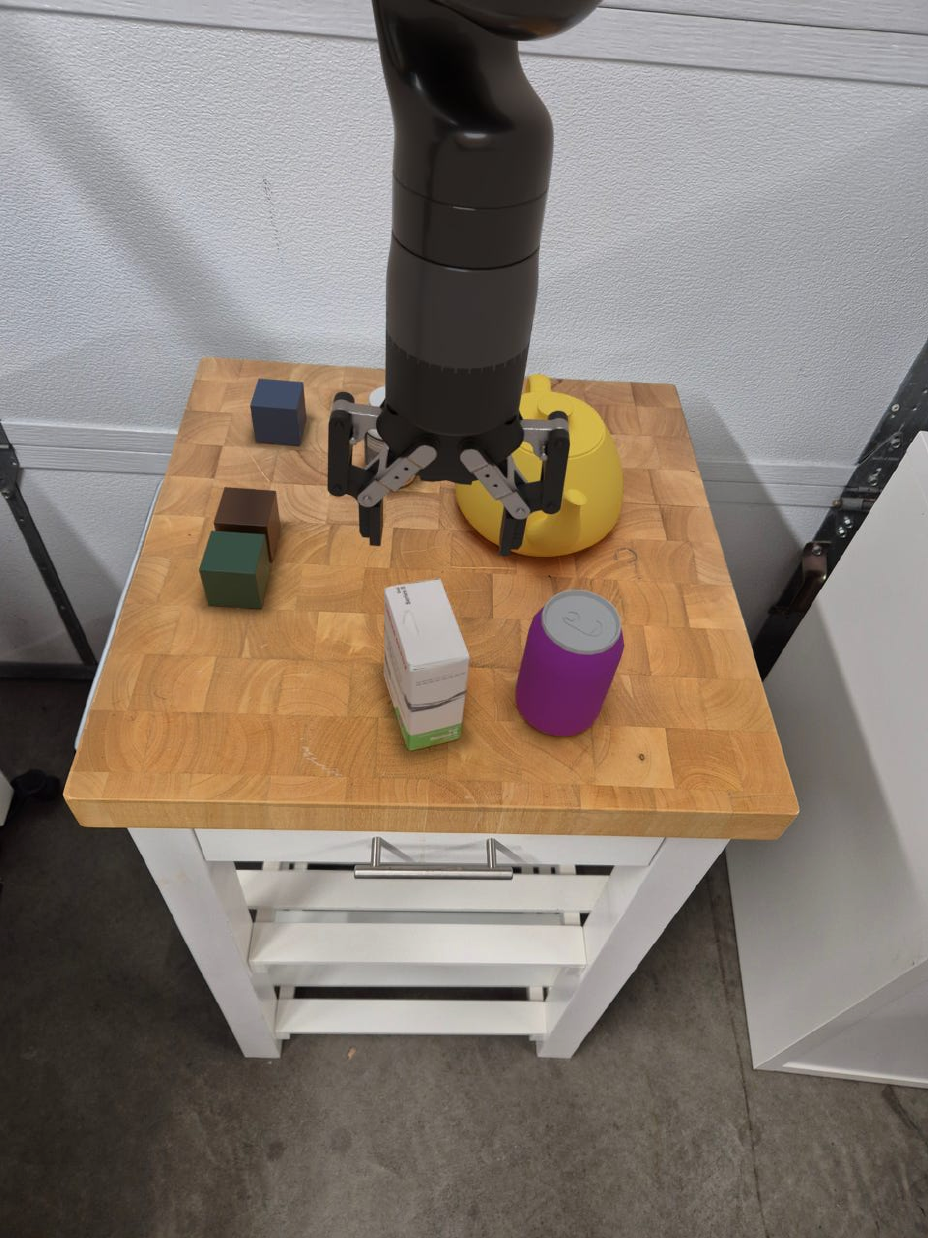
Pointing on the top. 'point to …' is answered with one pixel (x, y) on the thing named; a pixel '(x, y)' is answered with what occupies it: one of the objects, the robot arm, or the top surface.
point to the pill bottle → (372, 438)
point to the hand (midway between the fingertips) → (440, 542)
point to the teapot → (586, 487)
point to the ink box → (424, 663)
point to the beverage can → (569, 662)
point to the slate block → (278, 411)
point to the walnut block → (250, 514)
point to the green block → (235, 569)
